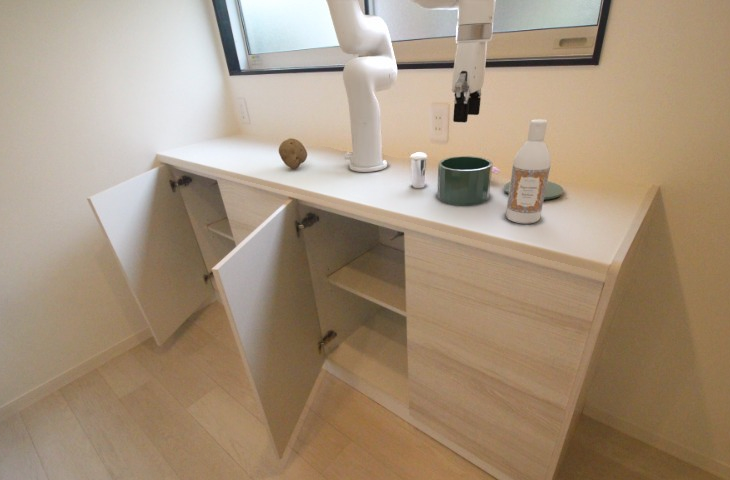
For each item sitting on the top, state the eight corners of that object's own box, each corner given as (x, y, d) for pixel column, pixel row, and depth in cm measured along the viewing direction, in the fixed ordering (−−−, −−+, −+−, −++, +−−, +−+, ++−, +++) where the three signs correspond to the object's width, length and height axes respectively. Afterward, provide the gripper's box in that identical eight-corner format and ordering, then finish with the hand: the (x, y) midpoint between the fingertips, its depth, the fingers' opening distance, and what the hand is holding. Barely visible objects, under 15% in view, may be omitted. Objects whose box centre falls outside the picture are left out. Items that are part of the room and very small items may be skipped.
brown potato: (302, 163, 129) (298, 134, 124) (313, 168, 123) (309, 138, 117) (278, 168, 125) (272, 139, 120) (288, 174, 119) (283, 143, 113)
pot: (429, 201, 91) (430, 167, 86) (447, 185, 100) (449, 154, 95) (480, 208, 85) (483, 172, 80) (494, 191, 94) (498, 158, 89)
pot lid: (498, 197, 90) (501, 171, 86) (510, 181, 100) (514, 156, 96) (558, 205, 83) (564, 176, 80) (565, 186, 93) (571, 160, 90)
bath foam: (504, 222, 77) (518, 124, 67) (506, 210, 83) (519, 117, 72) (539, 226, 75) (560, 124, 65) (539, 213, 80) (558, 117, 70)
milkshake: (406, 184, 103) (406, 148, 98) (425, 183, 103) (426, 147, 97) (407, 189, 99) (407, 152, 94) (427, 188, 99) (428, 151, 94)
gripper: (468, 35, 87) (462, 111, 96) (443, 36, 74) (439, 124, 83) (500, 33, 84) (491, 112, 93) (480, 34, 71) (471, 126, 80)
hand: (466, 118), depth 88 cm, fingers open, 9 cm apart
